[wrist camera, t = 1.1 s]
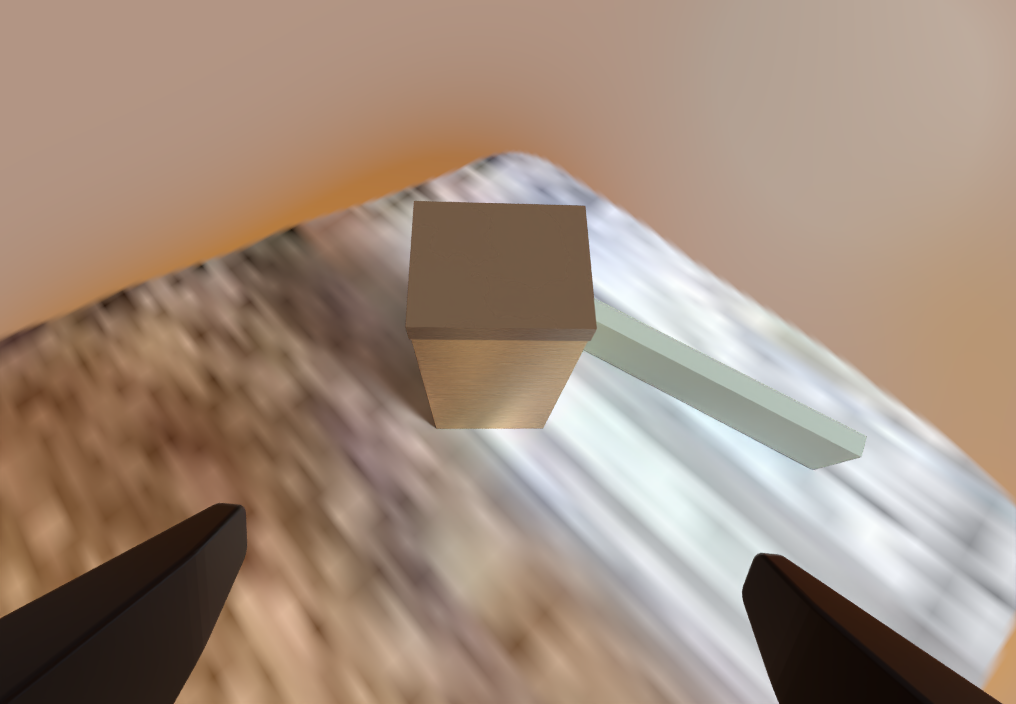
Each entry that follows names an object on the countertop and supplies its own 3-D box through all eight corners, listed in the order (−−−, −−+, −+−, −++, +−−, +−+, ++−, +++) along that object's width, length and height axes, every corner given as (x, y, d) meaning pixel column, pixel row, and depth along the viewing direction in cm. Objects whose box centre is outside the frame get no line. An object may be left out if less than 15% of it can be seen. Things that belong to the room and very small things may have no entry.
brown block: (435, 429, 23) (405, 327, 13) (438, 347, 25) (413, 199, 15) (543, 429, 24) (597, 328, 14) (540, 348, 25) (585, 204, 15)
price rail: (484, 297, 26) (485, 264, 23) (495, 280, 27) (497, 245, 24) (813, 470, 24) (861, 457, 21) (819, 448, 24) (867, 432, 21)
